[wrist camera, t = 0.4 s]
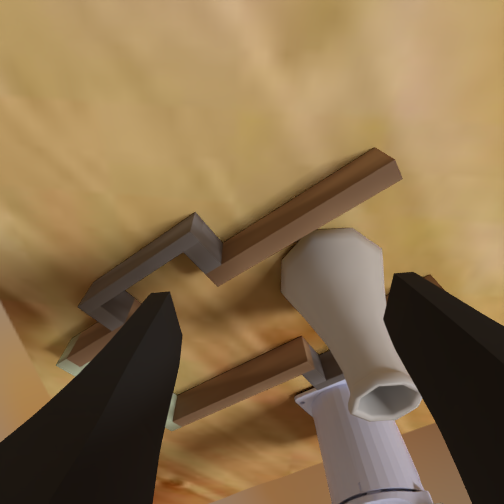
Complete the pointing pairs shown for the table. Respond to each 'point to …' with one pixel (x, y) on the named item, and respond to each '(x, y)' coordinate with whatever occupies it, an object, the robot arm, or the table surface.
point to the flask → (350, 317)
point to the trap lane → (222, 270)
